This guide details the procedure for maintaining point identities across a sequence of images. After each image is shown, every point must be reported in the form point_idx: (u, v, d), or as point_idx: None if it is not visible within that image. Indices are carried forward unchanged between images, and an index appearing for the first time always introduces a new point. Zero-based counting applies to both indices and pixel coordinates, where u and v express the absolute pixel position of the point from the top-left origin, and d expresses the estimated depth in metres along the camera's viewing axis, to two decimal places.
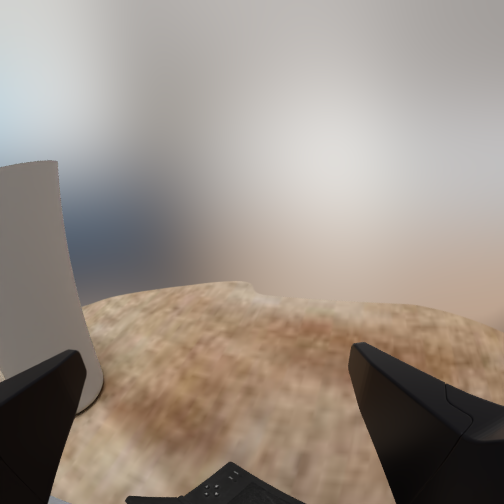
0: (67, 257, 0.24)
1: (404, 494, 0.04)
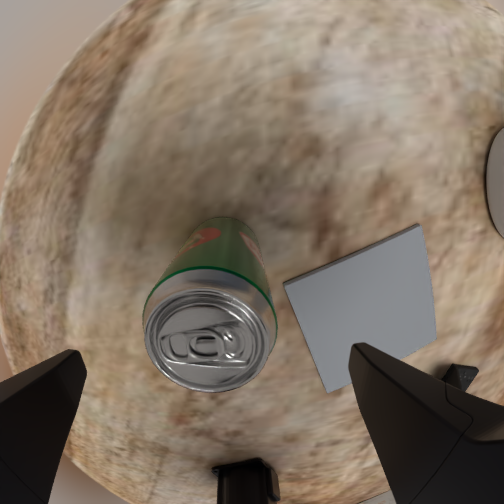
0: None
1: (404, 494, 0.04)
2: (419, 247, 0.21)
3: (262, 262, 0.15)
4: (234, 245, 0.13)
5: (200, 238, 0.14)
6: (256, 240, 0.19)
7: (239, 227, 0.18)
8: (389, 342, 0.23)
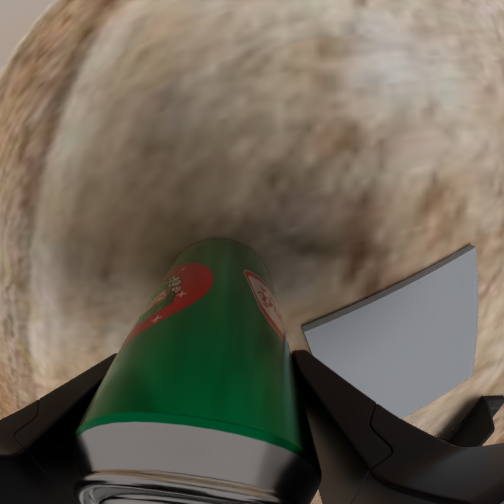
0: None
1: None
2: (471, 274, 0.15)
3: (283, 326, 0.09)
4: (237, 315, 0.07)
5: (177, 292, 0.08)
6: (268, 274, 0.13)
7: (243, 259, 0.11)
8: (424, 386, 0.17)
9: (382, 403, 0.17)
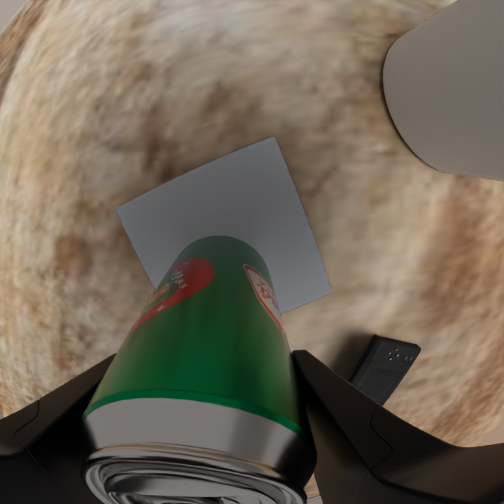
0: None
1: None
2: (275, 162, 0.19)
3: (280, 317, 0.09)
4: (237, 304, 0.07)
5: (179, 284, 0.08)
6: (267, 269, 0.13)
7: (243, 254, 0.12)
8: None
9: None
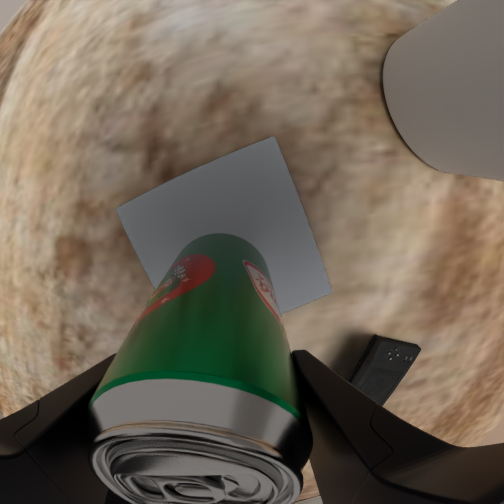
0: None
1: None
2: (275, 162, 0.19)
3: (279, 310, 0.10)
4: (236, 296, 0.08)
5: (182, 278, 0.09)
6: (266, 266, 0.14)
7: (242, 251, 0.12)
8: None
9: None
